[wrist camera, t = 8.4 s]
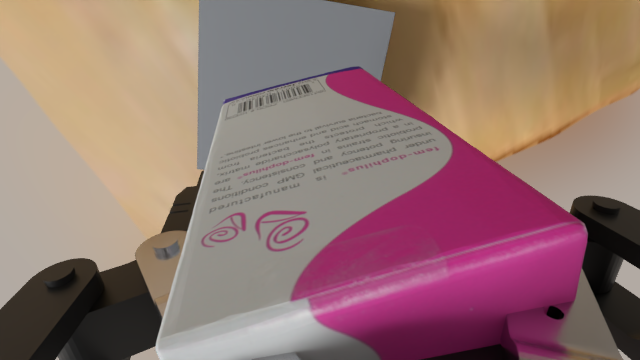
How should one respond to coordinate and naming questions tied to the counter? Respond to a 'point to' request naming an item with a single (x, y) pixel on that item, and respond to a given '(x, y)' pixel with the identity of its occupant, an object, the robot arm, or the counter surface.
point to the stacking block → (279, 48)
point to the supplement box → (358, 233)
